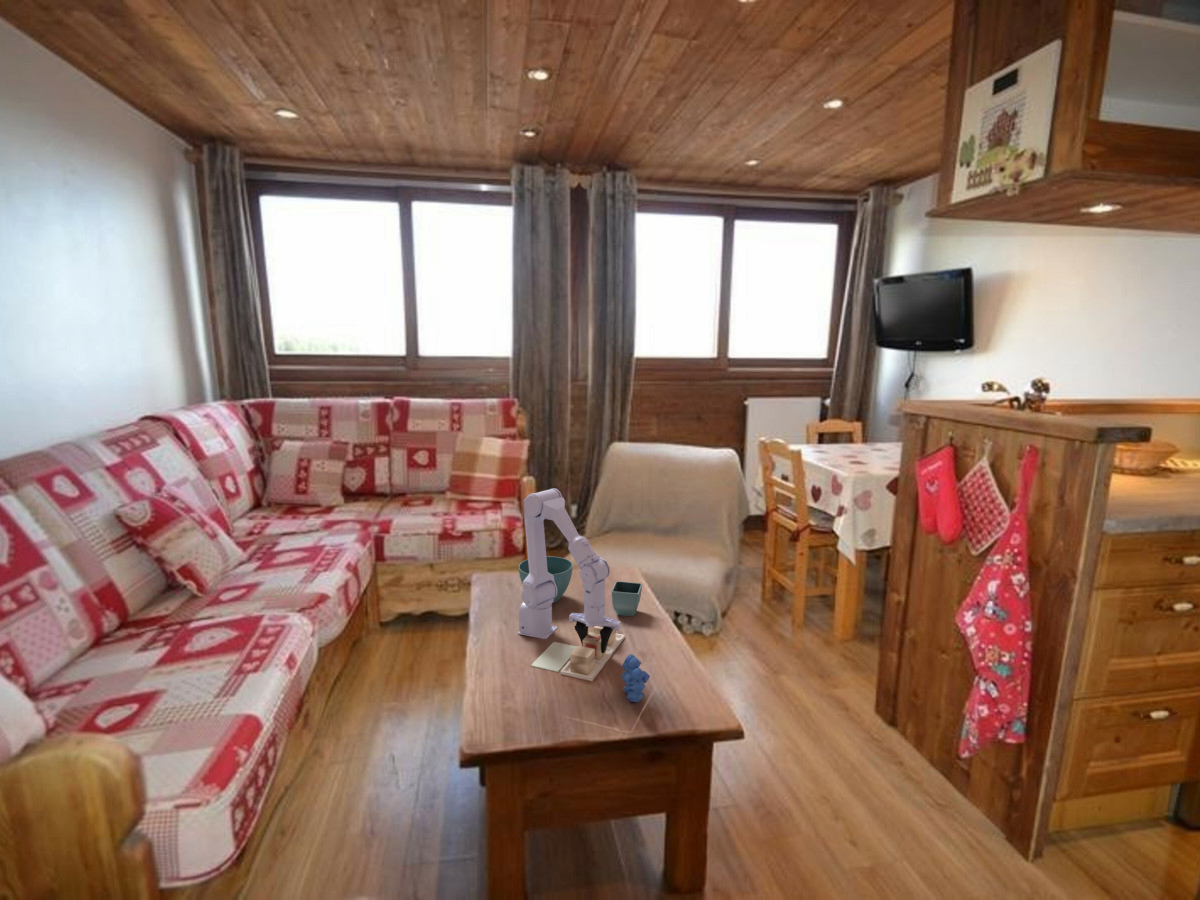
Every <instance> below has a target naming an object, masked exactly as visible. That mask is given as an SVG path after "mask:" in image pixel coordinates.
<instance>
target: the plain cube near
mask: <svg viewBox="0 0 1200 900" xmlns="http://www.w3.org/2000/svg"><path fill="white" fill-rule="evenodd" d="M569 661H570V672H573V673H578V674H582V675H587V676H588V675H589V674H590V672H591V671H592V670H593V668H594V667H595V649H593V648H588V647H583V646H582V645H577V647H576V648H575V649H574V651H573V652H572V653H571V654H570V659H569Z"/></svg>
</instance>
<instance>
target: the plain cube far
mask: <svg viewBox="0 0 1200 900" xmlns="http://www.w3.org/2000/svg"><path fill="white" fill-rule="evenodd" d="M602 629H603V627H600V626H593V633H596V634H600V631H601V630H602ZM616 633H617V631H615V629H613V631H612V633H611V635H610V638H609V640H608V644H607V646H609V647H610V646H611V645H612V644H613V642H614V641H615V640H616Z"/></svg>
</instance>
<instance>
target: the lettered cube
mask: <svg viewBox="0 0 1200 900" xmlns="http://www.w3.org/2000/svg"><path fill="white" fill-rule="evenodd" d="M583 647H588V648H593V649H595V660H599V661H600V659H601V658H602V657H603V655H604V654H605V653H606V651H605V652H604V653H601V636H600V634H596V633H594V632H592V631H591V632H589V631H588V635H587V636H586V637H585V638H584V639H583Z"/></svg>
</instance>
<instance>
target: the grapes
mask: <svg viewBox="0 0 1200 900" xmlns="http://www.w3.org/2000/svg"><path fill="white" fill-rule="evenodd" d="M641 664H642V661H641V660H640V659H639V658H638V657H636V656H635V655H634V654H632V653H631V654H628V655H627V656H626V657H625V659H624V661H623V663H622V665H621V668H622V669H623V670H624V672H623V674H622V675H621V679H622V681H624V683H625V685H624V687H623V689H622V690H623V691H624V692H625V694H627V695H626V698H627V699H628V701H630V702H631V703H639V702H640V701H641V700H642V698H643V696H644V694H643V692H644V690H645V688H646V685H645V684H647V683H648V680H650V677H651V676H650V674H649V673H648V672H647V671H645V670H643V669H641V668H640V666H641Z"/></svg>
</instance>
